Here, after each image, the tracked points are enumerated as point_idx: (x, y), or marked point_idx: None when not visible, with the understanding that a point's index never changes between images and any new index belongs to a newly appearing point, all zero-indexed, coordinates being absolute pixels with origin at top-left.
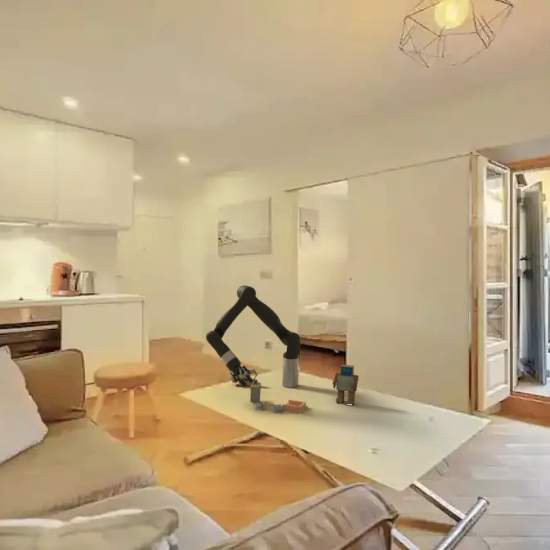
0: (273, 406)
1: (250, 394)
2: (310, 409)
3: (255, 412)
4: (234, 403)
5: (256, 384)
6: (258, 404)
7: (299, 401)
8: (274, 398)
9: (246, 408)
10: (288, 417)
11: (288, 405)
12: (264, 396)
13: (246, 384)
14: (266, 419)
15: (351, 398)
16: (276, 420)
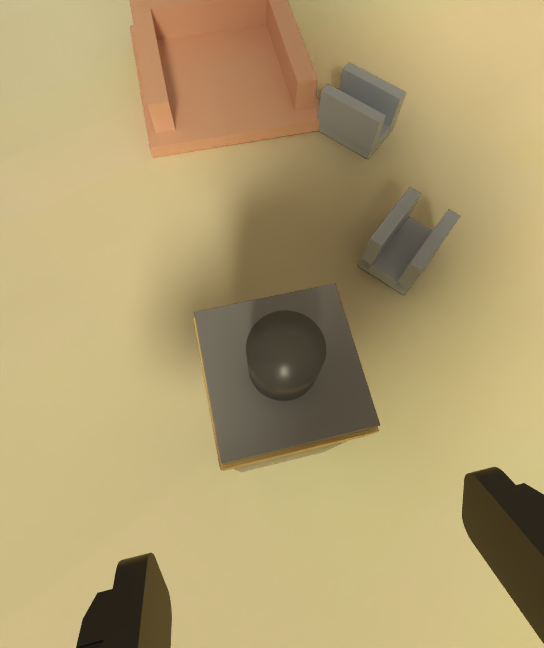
0: (382, 123)
1: (338, 444)
2: None
3: (507, 229)
4: None
5: (339, 306)
6: (446, 235)
7: (145, 33)
8: (56, 327)
9: (501, 347)
10: (397, 35)
11: (297, 43)
12: (45, 457)
13: (470, 473)
14: (541, 103)
15: None
16: (499, 57)
